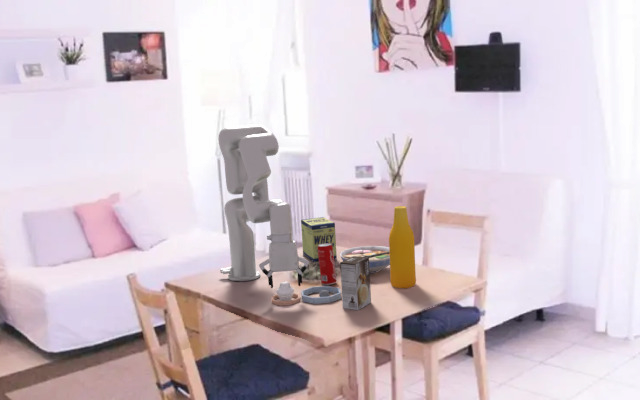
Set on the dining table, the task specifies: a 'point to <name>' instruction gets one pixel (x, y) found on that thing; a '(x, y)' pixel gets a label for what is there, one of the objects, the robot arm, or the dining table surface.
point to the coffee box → (355, 282)
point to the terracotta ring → (285, 301)
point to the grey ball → (324, 293)
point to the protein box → (317, 236)
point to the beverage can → (326, 263)
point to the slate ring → (321, 299)
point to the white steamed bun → (285, 291)
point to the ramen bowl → (370, 256)
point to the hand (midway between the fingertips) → (285, 286)
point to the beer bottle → (402, 251)
